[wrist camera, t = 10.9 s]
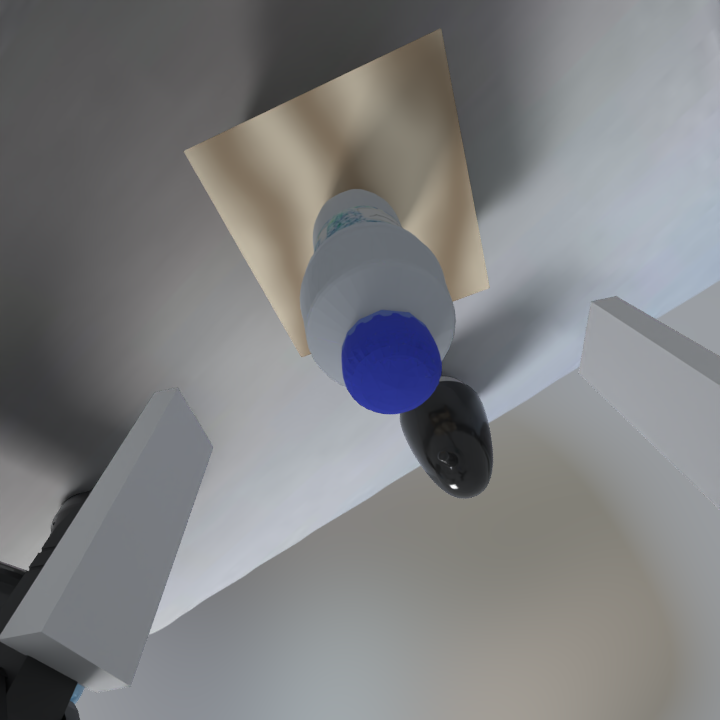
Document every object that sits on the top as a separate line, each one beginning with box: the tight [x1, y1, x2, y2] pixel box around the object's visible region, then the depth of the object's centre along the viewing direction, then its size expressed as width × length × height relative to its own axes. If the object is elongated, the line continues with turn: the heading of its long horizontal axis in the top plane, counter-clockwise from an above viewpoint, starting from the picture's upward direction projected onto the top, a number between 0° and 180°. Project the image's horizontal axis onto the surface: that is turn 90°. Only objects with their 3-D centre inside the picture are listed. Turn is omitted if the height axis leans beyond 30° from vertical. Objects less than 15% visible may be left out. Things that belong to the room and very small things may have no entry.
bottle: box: [300, 189, 456, 414], centre depth 20 cm, size 7×7×20 cm
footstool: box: [184, 28, 490, 357], centre depth 31 cm, size 18×18×8 cm
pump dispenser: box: [400, 376, 493, 498], centre depth 42 cm, size 10×10×15 cm
